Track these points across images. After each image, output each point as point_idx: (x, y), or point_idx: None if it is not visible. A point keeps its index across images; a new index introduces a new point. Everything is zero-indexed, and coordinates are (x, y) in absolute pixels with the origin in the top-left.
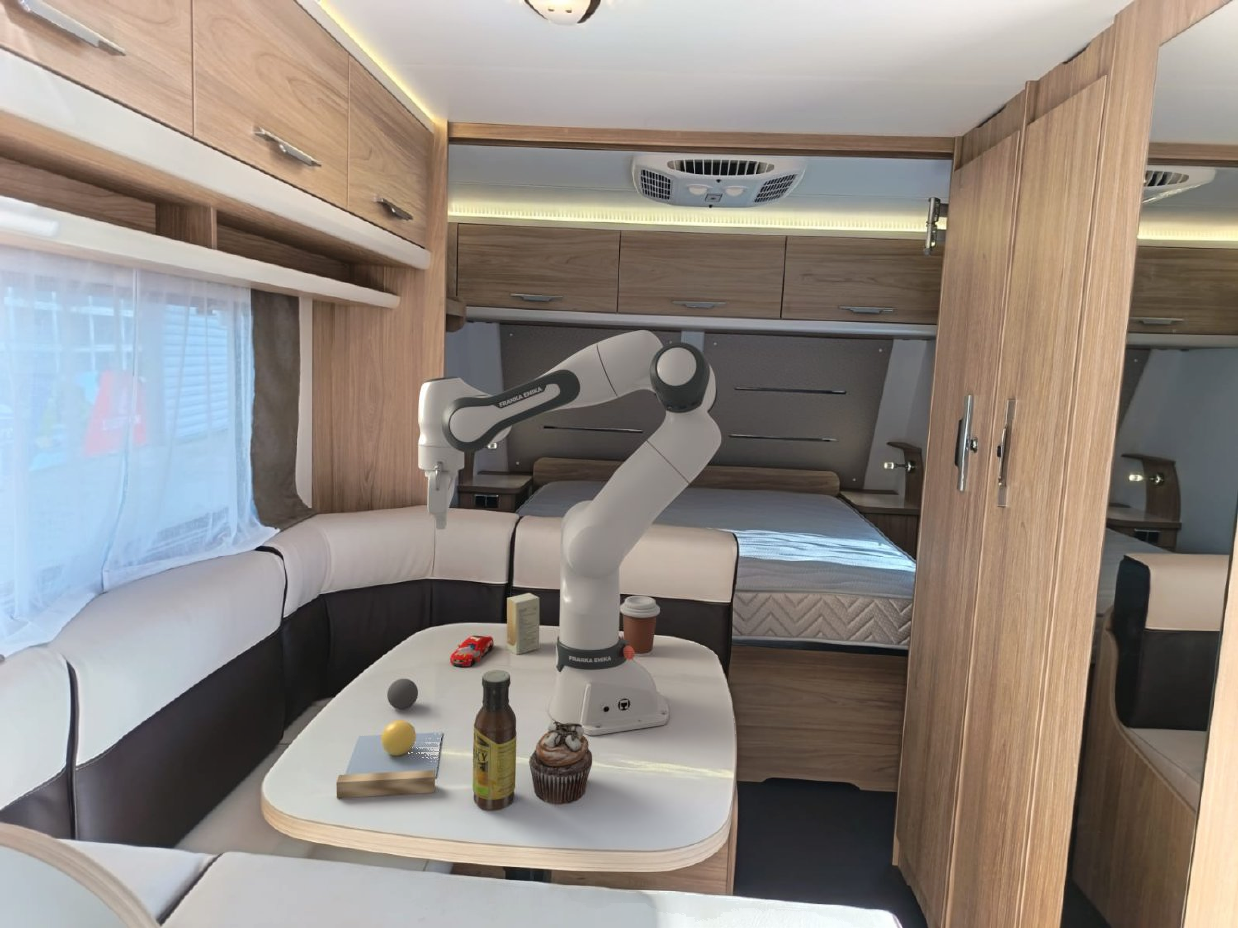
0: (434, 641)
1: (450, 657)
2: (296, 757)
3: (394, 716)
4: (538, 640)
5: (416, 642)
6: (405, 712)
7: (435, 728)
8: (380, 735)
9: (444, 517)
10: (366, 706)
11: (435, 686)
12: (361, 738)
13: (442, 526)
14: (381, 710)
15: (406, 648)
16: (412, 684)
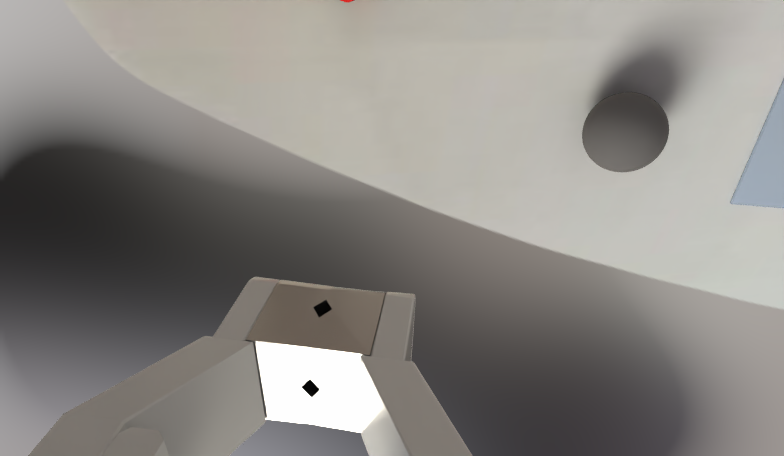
0: (194, 52)
1: (347, 1)
2: (761, 296)
3: None
4: None
5: (206, 102)
6: None
7: (771, 32)
8: (751, 162)
9: (437, 413)
10: (578, 197)
11: (506, 40)
12: (745, 198)
13: (412, 330)
14: None
15: (249, 126)
16: (646, 117)
